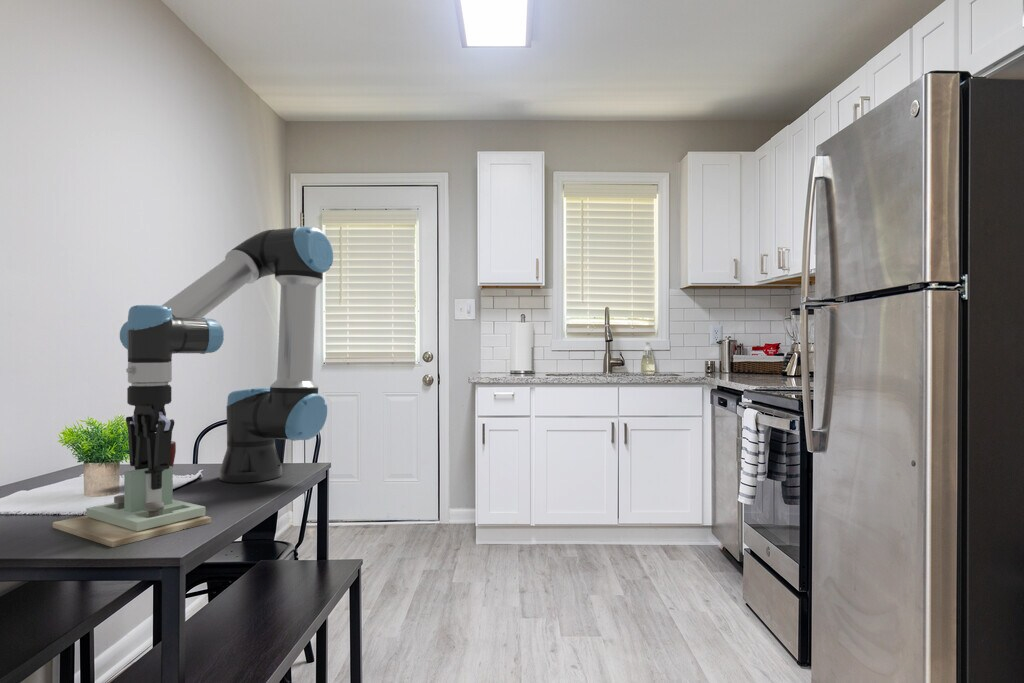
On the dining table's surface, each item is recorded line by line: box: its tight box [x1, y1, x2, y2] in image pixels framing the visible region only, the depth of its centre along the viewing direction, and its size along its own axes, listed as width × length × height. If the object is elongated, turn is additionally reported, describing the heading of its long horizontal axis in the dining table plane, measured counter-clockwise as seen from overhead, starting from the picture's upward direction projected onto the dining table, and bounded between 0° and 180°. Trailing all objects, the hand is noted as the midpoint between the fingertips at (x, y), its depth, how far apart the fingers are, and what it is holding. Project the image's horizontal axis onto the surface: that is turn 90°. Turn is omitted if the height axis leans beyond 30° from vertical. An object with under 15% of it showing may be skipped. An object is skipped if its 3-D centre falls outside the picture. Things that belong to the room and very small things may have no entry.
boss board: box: [52, 494, 212, 548], centre depth 122 cm, size 18×22×5 cm
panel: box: [85, 465, 207, 531], centre depth 124 cm, size 13×18×9 cm
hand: (149, 504), depth 124 cm, fingers closed on panel, 2 cm apart
